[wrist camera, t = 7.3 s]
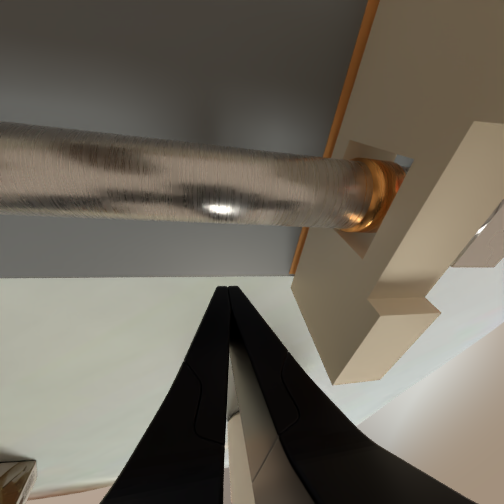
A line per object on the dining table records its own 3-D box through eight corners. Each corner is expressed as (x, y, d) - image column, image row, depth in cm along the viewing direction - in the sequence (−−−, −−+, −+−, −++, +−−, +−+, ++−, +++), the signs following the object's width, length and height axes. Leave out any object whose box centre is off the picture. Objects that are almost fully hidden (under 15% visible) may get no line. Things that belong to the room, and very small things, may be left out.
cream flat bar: (290, 287, 12) (332, 385, 8) (404, -79, 5) (1064, -675, 1) (324, 287, 12) (380, 379, 8) (469, -54, 6) (1127, -436, 2)
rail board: (-56, 263, 10) (-82, 279, 9) (-515, -291, 3) (-754, -419, 3) (378, 264, 14) (388, 275, 13) (514, 25, 8) (551, 16, 7)
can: (271, 398, 23) (315, 610, 14) (287, 415, 27) (331, 591, 17) (216, 417, 24) (222, 633, 14) (240, 431, 28) (256, 610, 18)
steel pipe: (-161, 194, 7) (-450, 269, 4) (-337, 9, 5) (-1353, -154, 2) (420, 223, 11) (496, 269, 8) (474, 137, 9) (605, 156, 6)
